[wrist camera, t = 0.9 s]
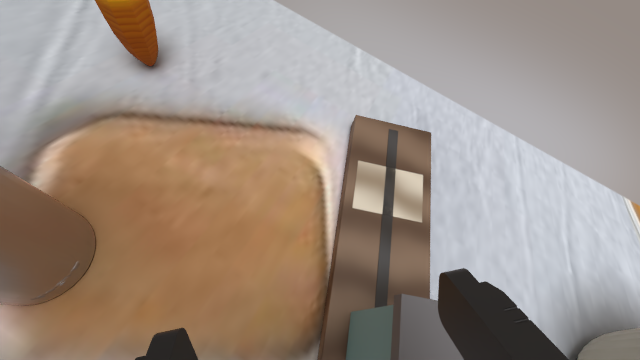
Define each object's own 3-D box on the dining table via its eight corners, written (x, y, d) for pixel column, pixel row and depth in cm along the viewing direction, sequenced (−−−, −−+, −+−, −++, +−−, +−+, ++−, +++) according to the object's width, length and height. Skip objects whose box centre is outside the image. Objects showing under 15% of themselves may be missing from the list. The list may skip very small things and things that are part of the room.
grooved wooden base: (416, 382, 31) (429, 387, 29) (316, 365, 30) (321, 368, 28) (422, 142, 43) (431, 132, 41) (351, 126, 42) (356, 114, 40)
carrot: (123, 59, 41) (54, -71, 28) (159, 45, 43) (112, -83, 29) (142, 85, 40) (79, -37, 26) (179, 70, 42) (138, -52, 28)
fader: (414, 377, 28) (522, 414, 16) (340, 364, 28) (397, 393, 16) (415, 319, 30) (512, 315, 19) (347, 306, 30) (401, 293, 18)
